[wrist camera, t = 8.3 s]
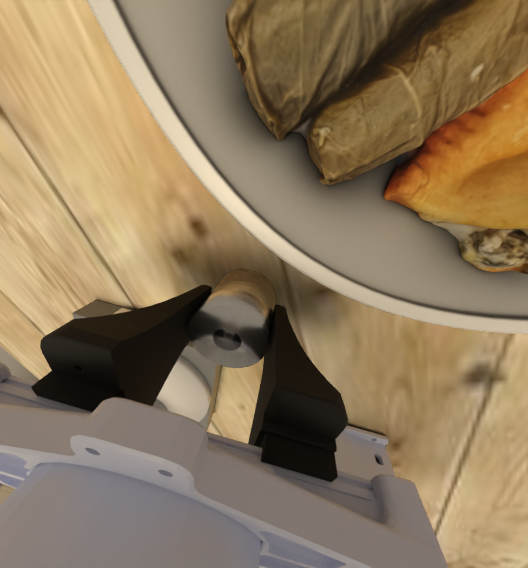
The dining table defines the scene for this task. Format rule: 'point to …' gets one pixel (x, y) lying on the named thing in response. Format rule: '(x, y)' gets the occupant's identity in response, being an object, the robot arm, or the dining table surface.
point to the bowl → (354, 138)
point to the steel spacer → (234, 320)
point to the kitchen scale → (177, 375)
